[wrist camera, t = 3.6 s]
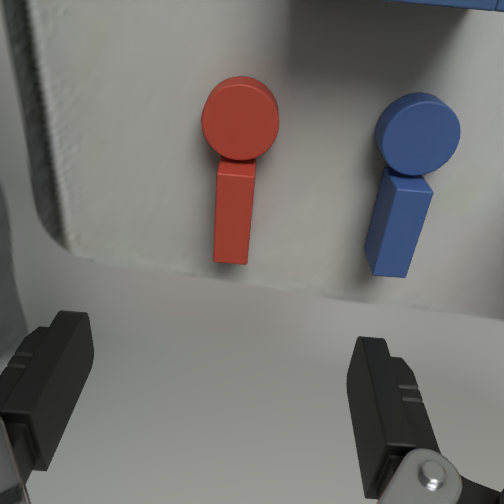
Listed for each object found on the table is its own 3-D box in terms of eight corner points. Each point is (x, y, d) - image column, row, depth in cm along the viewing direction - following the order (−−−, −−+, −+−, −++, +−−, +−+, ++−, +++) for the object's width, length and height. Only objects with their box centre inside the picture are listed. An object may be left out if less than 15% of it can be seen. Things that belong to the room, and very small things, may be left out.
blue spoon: (409, 252, 24) (422, 280, 22) (347, 247, 24) (355, 274, 22) (460, 95, 19) (482, 112, 17) (384, 89, 19) (398, 104, 17)
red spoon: (264, 240, 23) (264, 266, 21) (201, 234, 23) (195, 261, 21) (282, 79, 19) (284, 94, 17) (206, 72, 19) (198, 86, 17)
